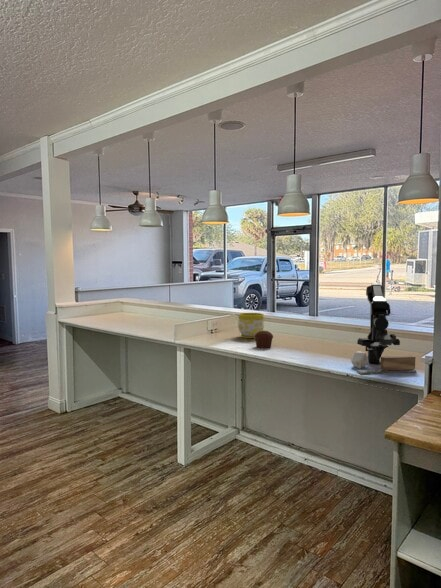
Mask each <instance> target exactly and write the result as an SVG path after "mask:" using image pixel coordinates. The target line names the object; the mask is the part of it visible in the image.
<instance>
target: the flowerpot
mask: <svg viewBox="0 0 441 588" xmlns="http://www.w3.org/2000/svg"><path fill="white" fill-rule="evenodd" d="M264 316H265V314H264V313H261V312H241V313H238V324H237V325H238V330H239V333H240V336H241V337H242V338H243V339H247V338H255V334H256V333H257V332H259V331H264V328H265V322H264Z"/></svg>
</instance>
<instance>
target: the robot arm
mask: <svg viewBox="0 0 441 588" xmlns="http://www.w3.org/2000/svg"><path fill="white" fill-rule="evenodd" d="M384 295H385V287H384V286H383V285H382V284H381V283H372V284H371V285H369V286H367V287H366V289H365V296H366V297H367V301H368V303H369V304H370V306H369V307H370V310H369V311H370V314H369V316H370V317H369V318H370V320H369V323H370V326H369V327H370V328H369V330H370V332H369V333H368V335H367V336H366V337H360V338H358V339H357V340H356V341H357V342H356V344H357V345H359V346H362V347H364V350H365V352H367V357H368V361H369V363H368V364H371V365H377V364H378V365H381V357H382V355H383V353H384V352H385V349H386V348H389V346H392V345H393V346H400V345H401V340H400V339H399V338H397V334H396V333H390V334H388V329H387V328H388V327H389V320H388V319H387V317H389V316H390V314H391V313H392V312H391V306H390V303H389V302H388V300H387V298H385V297H384Z"/></svg>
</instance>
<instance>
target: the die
mask: <svg viewBox="0 0 441 588" xmlns="http://www.w3.org/2000/svg"><path fill="white" fill-rule="evenodd" d="M350 360H351V361H350V362H351V364H352V366H353V367H355V368H356V369H357V368H358V370H361V369H363V368H365V367H366V366H367V365H368V364H370V363H369V361H368V354H367V353H366V352H364V351H360V350H358V351H355V352H354V353H352V354H351V355H350ZM360 368H361V369H360Z"/></svg>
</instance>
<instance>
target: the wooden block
mask: <svg viewBox="0 0 441 588" xmlns="http://www.w3.org/2000/svg"><path fill="white" fill-rule="evenodd" d="M380 362H381V364H380V368H379V369H382V370H384V371H386V370H410V369H415V370H416V356H415V355H390V356H389V355H386V356H381V357H380Z"/></svg>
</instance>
